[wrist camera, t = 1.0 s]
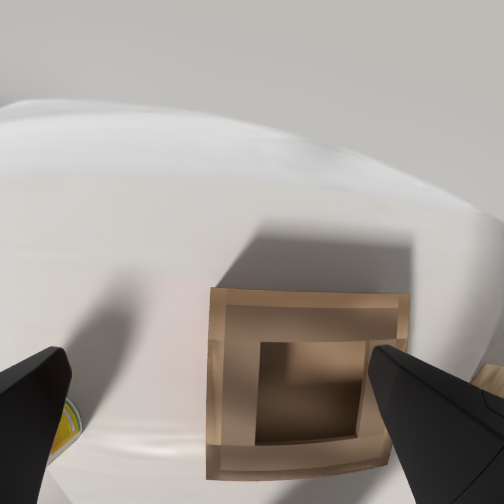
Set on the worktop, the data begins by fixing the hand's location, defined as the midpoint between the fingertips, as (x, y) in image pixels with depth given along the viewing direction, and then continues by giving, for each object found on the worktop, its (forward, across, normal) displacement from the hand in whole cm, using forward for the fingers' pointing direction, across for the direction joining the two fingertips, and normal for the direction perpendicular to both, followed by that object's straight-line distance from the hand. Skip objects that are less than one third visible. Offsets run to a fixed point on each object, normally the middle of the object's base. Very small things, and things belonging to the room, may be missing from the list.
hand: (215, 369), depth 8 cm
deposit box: (+12, -6, +11) cm, 17 cm away
